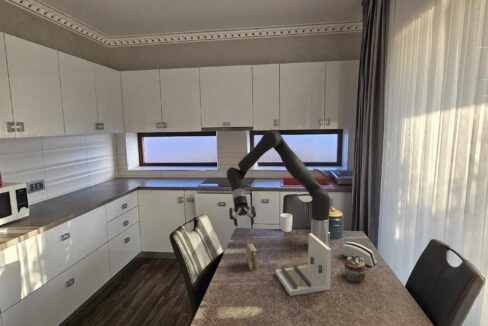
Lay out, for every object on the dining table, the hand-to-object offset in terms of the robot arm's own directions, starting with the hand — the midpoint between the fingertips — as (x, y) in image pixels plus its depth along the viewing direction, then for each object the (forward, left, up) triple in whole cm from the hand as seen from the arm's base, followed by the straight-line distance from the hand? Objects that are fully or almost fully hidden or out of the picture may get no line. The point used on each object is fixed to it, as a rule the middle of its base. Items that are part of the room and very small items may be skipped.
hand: (244, 225), depth 156 cm
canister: (-58, -11, -17) cm, 61 cm away
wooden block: (0, +13, -16) cm, 21 cm away
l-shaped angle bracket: (-18, +32, -16) cm, 40 cm away
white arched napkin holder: (-54, +21, -17) cm, 61 cm away
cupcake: (-43, +35, -17) cm, 58 cm away
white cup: (-34, -27, -17) cm, 46 cm away
